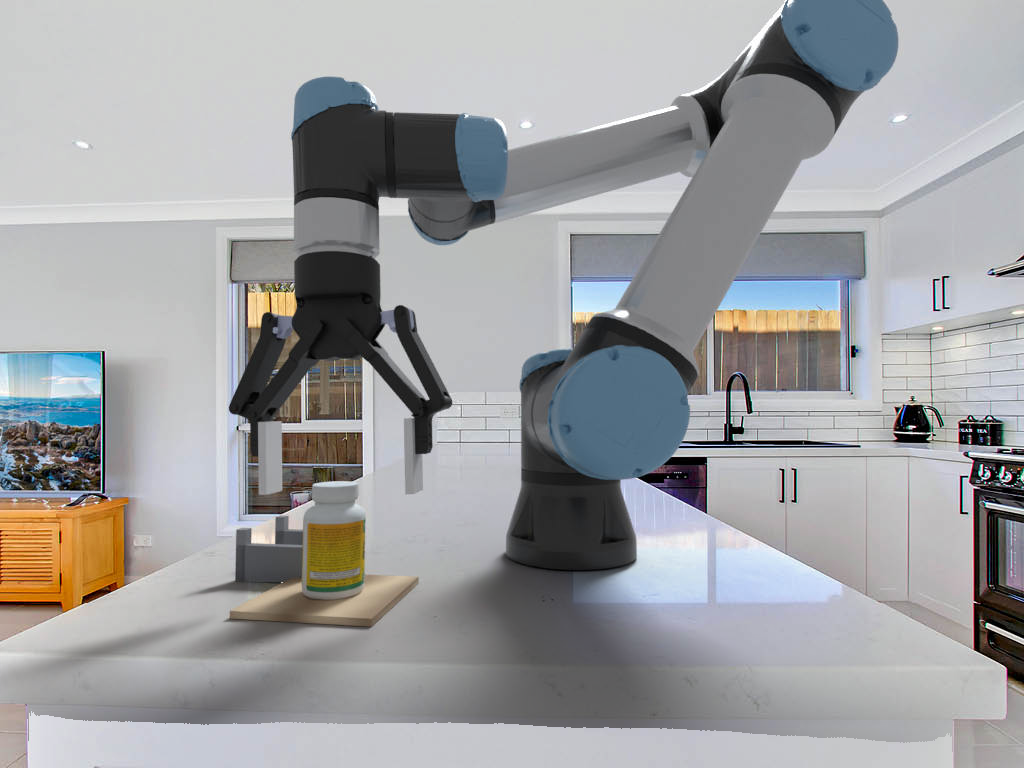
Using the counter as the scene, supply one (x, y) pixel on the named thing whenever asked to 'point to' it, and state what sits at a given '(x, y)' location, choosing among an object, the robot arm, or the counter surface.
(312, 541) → the supplement bottle
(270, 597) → the square wooden board
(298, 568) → the holder
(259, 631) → the counter surface
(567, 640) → the counter surface
